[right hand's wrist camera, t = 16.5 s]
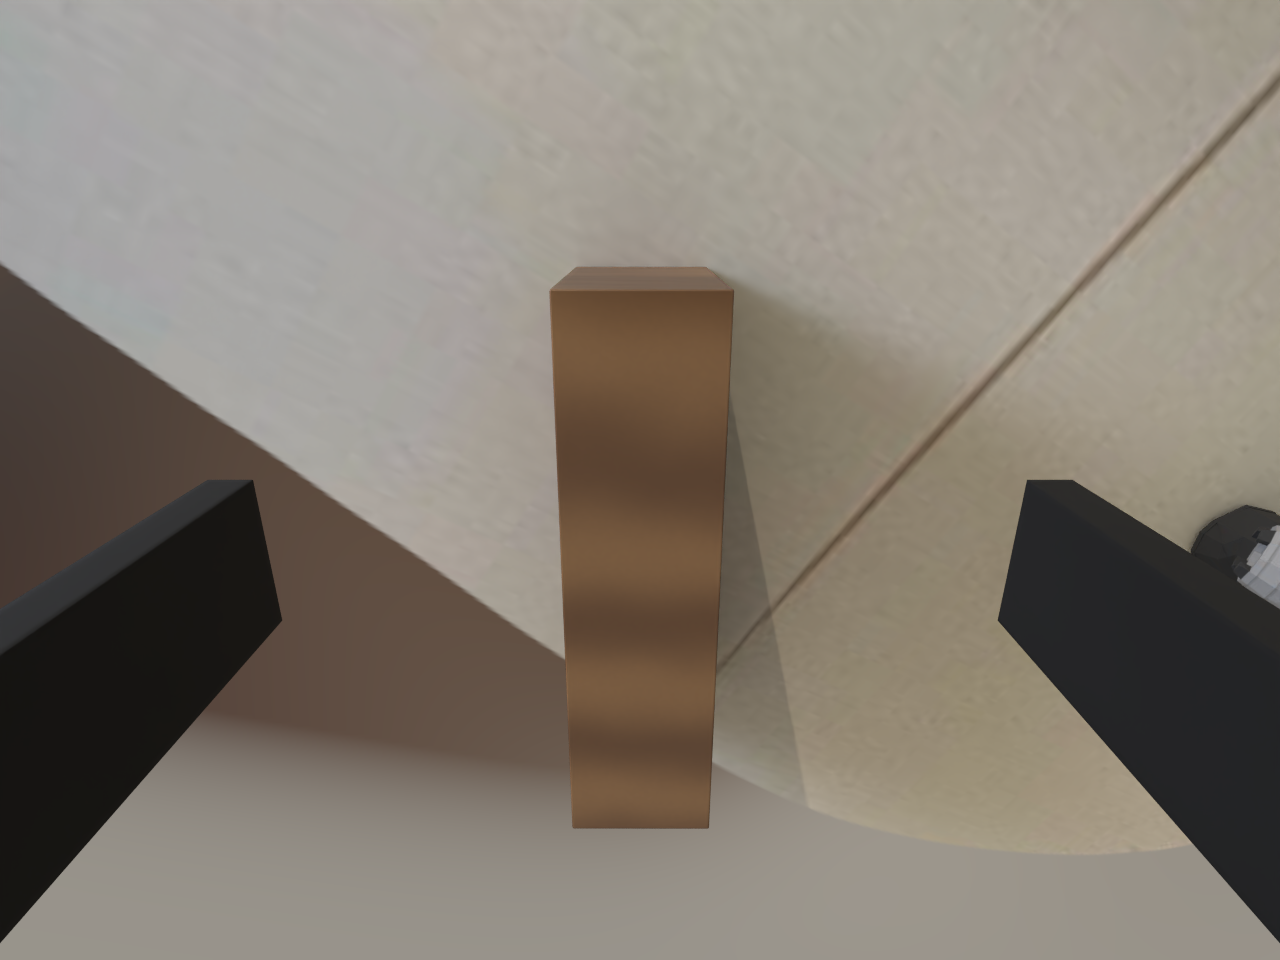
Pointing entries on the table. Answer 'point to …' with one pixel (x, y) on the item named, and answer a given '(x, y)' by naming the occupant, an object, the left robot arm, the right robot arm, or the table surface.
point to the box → (641, 534)
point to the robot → (1245, 549)
